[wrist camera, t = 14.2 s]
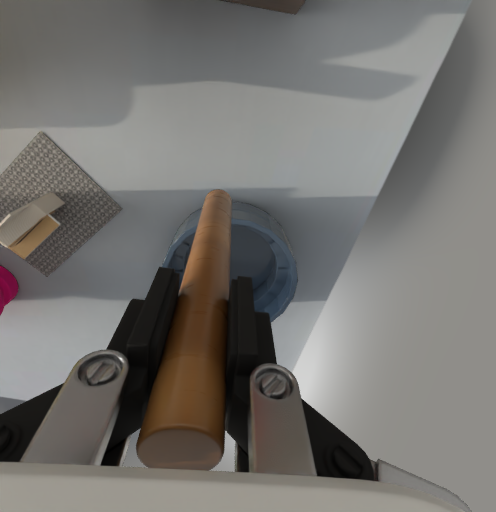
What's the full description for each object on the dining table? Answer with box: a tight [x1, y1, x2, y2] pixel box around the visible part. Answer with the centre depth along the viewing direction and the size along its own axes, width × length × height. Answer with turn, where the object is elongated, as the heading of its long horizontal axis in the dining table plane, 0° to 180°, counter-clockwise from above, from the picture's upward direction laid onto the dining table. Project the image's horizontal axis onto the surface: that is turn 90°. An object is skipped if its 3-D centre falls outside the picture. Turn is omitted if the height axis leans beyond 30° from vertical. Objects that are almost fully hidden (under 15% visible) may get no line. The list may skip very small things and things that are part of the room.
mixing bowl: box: [162, 202, 298, 322], centre depth 38 cm, size 15×15×6 cm
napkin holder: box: [0, 192, 65, 260], centre depth 35 cm, size 3×7×7 cm, turn 129°
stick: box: [136, 190, 232, 471], centre depth 15 cm, size 2×2×18 cm
